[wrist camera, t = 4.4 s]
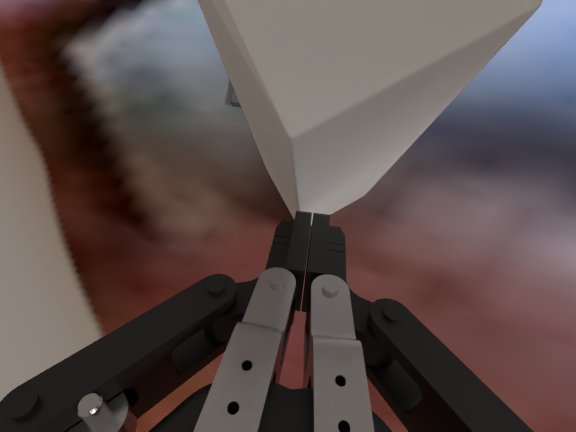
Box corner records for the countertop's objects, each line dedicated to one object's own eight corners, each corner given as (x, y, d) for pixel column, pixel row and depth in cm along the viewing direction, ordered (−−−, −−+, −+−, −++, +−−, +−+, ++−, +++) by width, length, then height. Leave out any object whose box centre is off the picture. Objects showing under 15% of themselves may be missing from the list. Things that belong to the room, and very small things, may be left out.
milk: (364, 196, 25) (817, -259, 3) (299, 231, 25) (282, 20, 3) (327, 134, 26) (473, -562, 4) (264, 168, 26) (47, -364, 4)
